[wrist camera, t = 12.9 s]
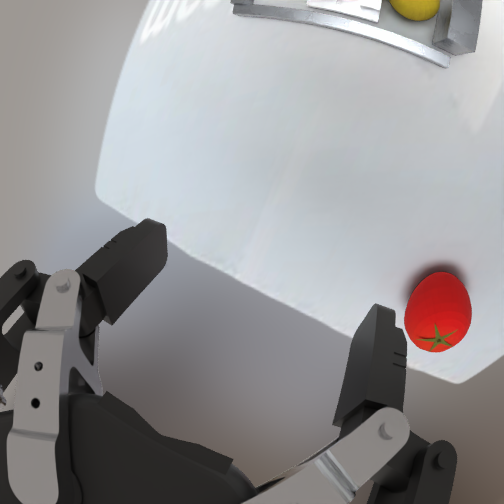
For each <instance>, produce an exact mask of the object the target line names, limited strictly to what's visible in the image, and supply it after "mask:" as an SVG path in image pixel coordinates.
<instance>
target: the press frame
mask: <svg viewBox="0 0 504 504" xmlns="http://www.w3.org/2000/svg"><path fill="white" fill-rule="evenodd" d="M253 1H254V0H231V4H234V8H233V14H235V15H238V16H249V17H261V18H271V19H280V20H287V21H294V22H300V23H306V24H311V25H317V26H322V27H326V28H331V29H335V30H339V31H343V32H347V33H351V34H355V35H358V36H362V37H365V38H368V39H372V40H375V41H378V42H381V43H384V44H387V45H390V46H393V47H395V48H398V49H401V50H403V51H406V52H409V53H411V54H414V55H416V56H418V57H421V58H423V59H425V60H428V61H430V62H432V63H434V64H436V65H439V66H441V67H443V68H448V67H449V62H450V58H451V57H449V56H447V55H445V54H443V53H441V52H439V51H437V50H435V49H432V48H430V47H428V46H426V45H423V44H421V43H419V42H416V41H414V40H411V39H409V38H406V37H403V36H401V35H398V34H395V33H392V32H389V31H387V30H384V29H380V28H377V27H374V26H371V25H367V24H364V23H360V22H357V21H353V20H349V19H345V18H341V17H337V16H332V15H327V14H322V13H317V12H312V11H306V10H299V9H292V8H284V7H276V6H265V5H253ZM481 9H482V0H440V7H439V10H438V15H437V21H436V27H435V32H434V37H433V42H432V45H435V46H437V47H439V48H441V49H443V50H445V51H447V52H449V53H451V54H453V55H460V54H466V53H472V52H475V49H476V43H477V38H478V32H479V25H480V17H481Z"/></svg>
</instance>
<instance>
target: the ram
mask: <svg viewBox="0 0 504 504" xmlns="http://www.w3.org/2000/svg"><path fill="white" fill-rule="evenodd" d="M381 2H382V0H307V4H306V5H307V6H308V7H312V8H318V9H323V10H328V11H333V12H337V13H342V14H346V15H350V16H354V17H358V18H361V19H365V20H368V21H372V22H375V23H378V18H379V13H380V8H381Z"/></svg>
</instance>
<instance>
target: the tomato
mask: <svg viewBox="0 0 504 504" xmlns="http://www.w3.org/2000/svg"><path fill="white" fill-rule="evenodd" d="M471 317H472V307H471V303H470V298H469V295H468V292H467V290H466V288H465V287H464V285H463V283H462V282H461V281H460V280H459V279H458V278H457V277H456V276H454V275H452V274H450V273H446V272H436V273H433V274H431V275H429V276H428V277H426V278H425V279H424V280H422V281H421V282H420V283H419V285H418V286H417V287H416V288H415V290H414V291H413V293H412V295H411V297H410V299H409V301H408V304H407V308H406V311H405V317H404V324H405V329H406V331H407V333H408V335H409V337H410V339H411V341H412V342H413V343H414V344H415V345H416V346H417V347H419V348H420V349H423V350H426V351H429V352H442V351H445V350H447V349H449V348H451V347H453V346H455V345H456V344H457V343H459V342H460V341H461V340H462V339H463V338H464V336H465V335H466V333H467V331H468V329H469V326H470V324H471Z"/></svg>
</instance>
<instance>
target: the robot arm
mask: <svg viewBox="0 0 504 504" xmlns="http://www.w3.org/2000/svg"><path fill="white" fill-rule="evenodd" d="M167 257H168V253H167V234H166V226H165V225H164V224H162V223H159V222H157V221H154V220H151V219H148V218H147V219H144V220H143V221H142V222H140V223H139V224H138V225H137V226H136V227H133V226H132V227H130V228H128V229H125V230H123V231H121V232H119V233H118V234H117V235H116V236H115V237H113V238H112V239H111V241H109V242H107V243H106V244H105V245H104V247H101V248H100V249H99V250H98V251H97V252H96V253H94V254H93V255H92V256H91V257H90V258H89V259H88V260H86V262H84V263H83V264H82V265H81V266H80V267H79V268H77V269H76V270H75V271H74V270H70V269H65V270H60V271H58V272H56V273H54V274H53V275H47V274H43V273H39V272H38V271H37V269H36V266H35V264H34V263H33V262H32V261H30V260H22V261H20V262H17V263H16V264H14V265H13V266H12V267H11V268H10V269H9V270H8V271H7V272H6V273H5V274H4V275H3V276H2V277H1V278H0V409H3V408H4V407H5V406H6V399H5V397H4V396H3V392H4V391H5V389H6V388H7V386H8V385H9V384H10V382H11V381H12V379H13V378H14V377H15V375H16V374H17V380H16V389H15V400H14V410H9V411H4V412H0V504H348V503H349V502H350V501H351V500H352V499H353V498H354V497H355V492H356V490H357V489H358V488H359V487H360V486H362V485H363V484H364V483H365V482H366V481H367V480H369V479H371V480H373V481H374V484H373V487H372V490H371V493H370V496H369V499H368V501H367V504H448V503H449V499H450V495H451V491H452V486H453V481H454V476H455V471H456V464H457V454H456V451H455V449H454V447H453V446H452V444H451V443H449V442H447V441H445V440H441V441H436V442H434V443H432V444H430V443H429V442H427V441H425V440H424V439H422V438H420V437H419V436H417V435H416V434H414V433H413V432H412V431H411V430H410V428H409V423H408V420H407V418H406V417H405V416H404V414H403V402H404V392H405V379H406V369H405V368H406V362H407V359H406V356H407V341H406V338H405V335H404V332H403V330H402V329H400V328H397V327H395V317H396V314H395V311H394V310H392V309H390V308H387V307H384V306H381V305H379V304H374V305H373V306H372V308H371V309H370V311H369V312H368V314H367V315H366V317H365V318H364V320H363V321H362V323H361V324H360V326H359V327H358V329H357V330H356V332H355V334H354V337H353V340H352V343H351V347H350V352H349V357H348V362H347V367H346V372H345V376H344V381H343V385H342V389H341V393H340V397H339V401H338V405H337V409H336V413H335V416H334V420H333V424H332V425H334V426H338V427H341V431H340V435H339V437H337V438H336V439H335V440H333V441H332V442H330V443H329V444H328V445H326V446H325V447H323V448H322V449H320V450H319V451H318V452H316V453H315V454H313V455H312V456H310V457H309V458H307V459H305V460H304V461H302V462H301V463H299V464H298V465H296V466H295V467H293V468H291V469H289V470H287V471H285V472H283V473H282V474H280V475H278V476H276V477H274V478H272V479H271V480H269V481H267V482H265V483H263V484H261V485H260V486H258V487H256V488H255V487H254V486H253V484H252V483H251V481H250V480H249V479H248V478H247V476H246V475H245V474H244V473H243V472H242V471H240V470H239V469H238V468H237V467H235V466H234V465H233V464H231V463H232V461H233V459H232V458H229V457H227V456H224V455H222V454H219V453H217V452H215V451H213V450H210V449H208V448H206V447H203V446H201V445H199V444H195V443H191V442H186V441H182V440H178V439H174V438H170V437H166V436H163V435H161V434H159V433H158V432H157V431H155V430H154V429H153V428H152V427H151V426H150V425H149V424H148V423H147V422H146V421H145V420H144V419H143V418H142V417H141V416H140V415H139V414H138V413H137V412H136V411H135V410H134V409H133V408H131V407H130V406H128V405H127V404H125V403H124V402H122V401H121V400H119V399H118V398H116V397H115V396H113V395H112V394H110V393H109V392H107V391H106V393H105V394H104V395H103V390H102V384H101V380H100V377H99V372H98V347H99V323H100V322H101V321H102V320H104V321H106V322H107V323H109V324H111V325H113V324H114V323H115V322H116V321H117V319H118V318H119V317H120V316H121V315H122V314H123V312H124V311H125V310H126V309H127V308H128V307H129V306H130V304H131V303H132V302H133V301H134V300H135V299H136V298H137V297H138V295H139V294H140V293H141V292H142V291H143V290H144V289H145V288H146V287H147V285H149V283H150V282H151V281H152V280H153V279H154V278H155V277H156V276H157V275H158V273H160V271H161V270H162V269H163V268H164V266H165V264H166V261H167ZM19 305H21V307H22V309H23V310H24V313H23V315H22V316H21V317H20V318H19V319H18V320H17V321H16V323H15V324H14V325H13V326H12V327H11V329H10V330H9V331H8V332H7V333H6V334H5V335H3V334H2V326H3V324H4V322H5V321H6V320H7V319H8V318H9V317H10V315H11V314H12V313H13V312H14V311H15V310H16V309H17V307H18V306H19Z"/></svg>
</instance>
